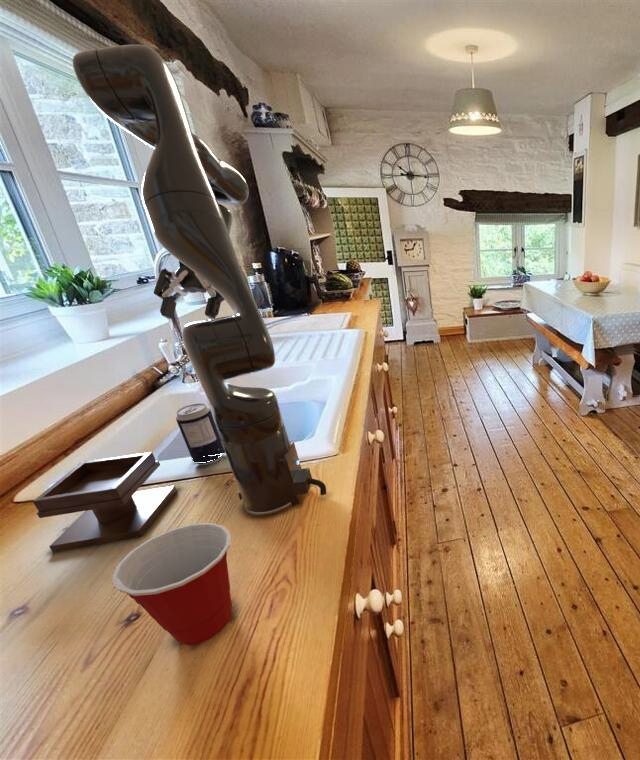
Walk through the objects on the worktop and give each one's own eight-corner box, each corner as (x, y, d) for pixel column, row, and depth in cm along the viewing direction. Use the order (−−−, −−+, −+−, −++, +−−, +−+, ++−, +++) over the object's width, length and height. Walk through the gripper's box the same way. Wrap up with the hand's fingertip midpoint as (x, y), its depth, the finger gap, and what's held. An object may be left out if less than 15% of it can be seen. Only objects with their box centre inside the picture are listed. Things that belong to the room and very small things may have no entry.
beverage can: (232, 452, 88) (214, 402, 84) (212, 467, 83) (192, 415, 79) (208, 451, 89) (189, 402, 84) (187, 466, 84) (166, 415, 79)
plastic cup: (265, 624, 51) (237, 553, 46) (157, 688, 45) (111, 612, 40) (246, 572, 59) (220, 506, 54) (151, 620, 52) (112, 550, 48)
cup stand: (177, 490, 77) (158, 448, 73) (141, 536, 66) (117, 490, 62) (102, 502, 74) (79, 460, 71) (52, 552, 64) (22, 505, 60)
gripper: (157, 237, 83) (136, 308, 78) (228, 237, 84) (212, 308, 79) (183, 258, 91) (166, 325, 86) (249, 258, 91) (235, 324, 86)
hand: (188, 317), depth 82 cm, fingers open, 8 cm apart
